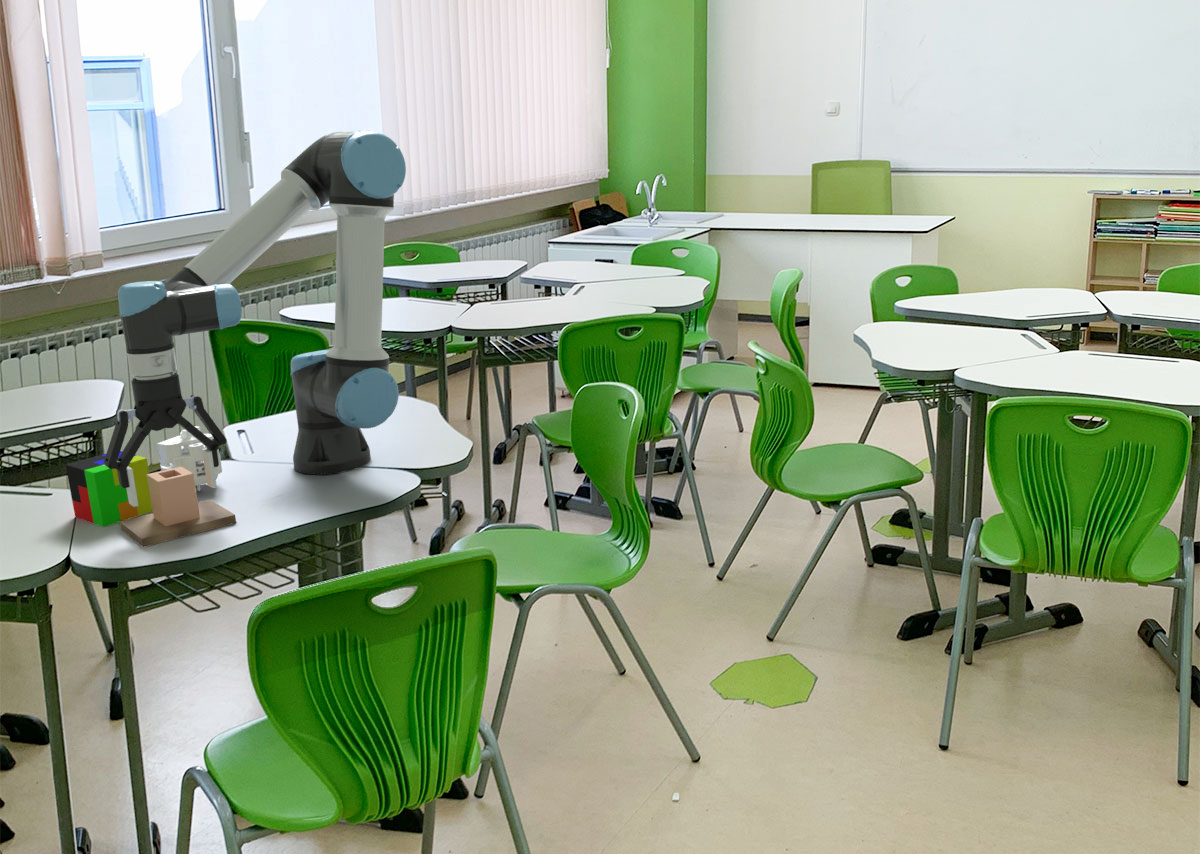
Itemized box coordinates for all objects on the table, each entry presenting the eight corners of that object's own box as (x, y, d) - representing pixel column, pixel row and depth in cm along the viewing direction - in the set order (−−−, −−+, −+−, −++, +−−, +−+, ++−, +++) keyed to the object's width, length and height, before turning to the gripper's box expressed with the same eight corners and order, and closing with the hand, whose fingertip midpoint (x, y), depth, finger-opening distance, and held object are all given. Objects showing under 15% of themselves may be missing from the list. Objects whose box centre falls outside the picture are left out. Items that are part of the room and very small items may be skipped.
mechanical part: (213, 474, 232) (204, 417, 229) (234, 488, 223) (225, 428, 220) (155, 487, 226) (146, 428, 223) (174, 502, 216) (164, 440, 213)
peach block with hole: (153, 518, 203) (146, 474, 201) (187, 509, 207) (181, 466, 205) (165, 526, 199) (158, 481, 197) (200, 517, 202) (193, 473, 200)
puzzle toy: (126, 501, 219) (117, 450, 216) (155, 510, 212) (146, 458, 210) (75, 517, 211) (65, 464, 209) (103, 527, 205) (93, 473, 202)
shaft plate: (211, 507, 212) (204, 462, 210) (236, 522, 203) (229, 476, 201) (120, 529, 203) (112, 483, 201) (143, 547, 194) (134, 498, 192)
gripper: (83, 392, 186) (105, 518, 191) (234, 364, 200) (251, 482, 206) (70, 385, 192) (92, 507, 197) (218, 359, 206) (235, 474, 212)
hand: (173, 495), depth 202 cm, fingers open, 13 cm apart
